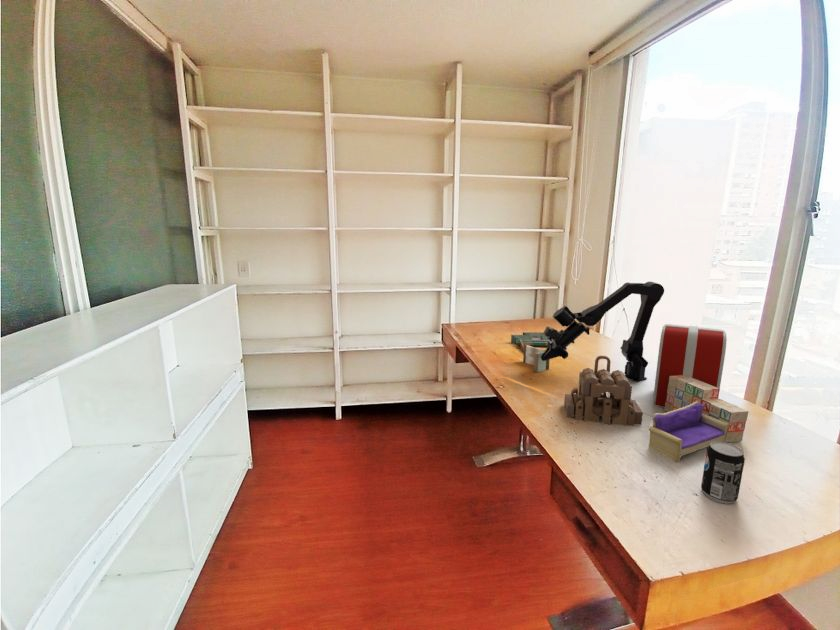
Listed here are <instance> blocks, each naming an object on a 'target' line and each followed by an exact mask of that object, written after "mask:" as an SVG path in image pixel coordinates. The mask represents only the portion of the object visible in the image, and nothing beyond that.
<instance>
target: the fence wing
mask: <svg viewBox="0 0 840 630" xmlns="http://www.w3.org/2000/svg"><path fill="white" fill-rule="evenodd" d="M543 353H544V352H541V353H534V365H533V371H532V372H533V373H535V374H536V373H539V372H545V371H547V370H546V360H545V361H543V360H542V359H541V356H542V355H543Z"/></svg>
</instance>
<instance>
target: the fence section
mask: <svg viewBox="0 0 840 630" xmlns="http://www.w3.org/2000/svg"><path fill="white" fill-rule="evenodd" d="M545 350H546V349H543V348H539V347H534V346H533V345H529V346H528V345H524V352H523V356H522V357H523V358H522V362H523V363H525V364H528V365H532V366H534V353H541V352H545ZM550 360H551V359H548V360H546V370H545V371H549V370H550Z"/></svg>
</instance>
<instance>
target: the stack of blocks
mask: <svg viewBox="0 0 840 630" xmlns="http://www.w3.org/2000/svg"><path fill="white" fill-rule="evenodd" d="M720 390H721V388H720V389H719V388H717V387H714V386H712V385H709V384H707V383H704V382H701V381H699V380H696V379H694V378H692V377H687V376H682V375H678V376H677V375H676V376H670V377H669V384H668V390H667V398H666V403H665V407H664V411H665V412H666V413H667V412H670V411H673V410H676V409H679V408H682V407H685V406H688V405H690V404H692V403H694V402H699V403H701V404H702V405H703V412H702V414H705V415H707V416H710V417H712V418H715V419H717V420H720V421H722V422H725V423H727V424H729V427H728V429H727V432H726V438H725V442H726V443H733V442H742V441H743V438H744V432H745V429H746V423H747V420H748V415H749V413H750V412H749V411H748V409H745V408H743V407H740V406H737V405H735V404H734V403H733V404H732V403H731V402H728V401H727V400H724V399H721V398H719V397H720ZM718 396H719V397H718Z"/></svg>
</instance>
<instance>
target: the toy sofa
mask: <svg viewBox="0 0 840 630" xmlns="http://www.w3.org/2000/svg"><path fill="white" fill-rule="evenodd" d="M702 412H703V405H702V404H701V403H699V402H694V403H692V404H690V405H688V406H685V407H682V408H679V409H676V410H673V411H670V412H667V411H666V412H664V413H658V412H657V413H655V412H654V414H653V415H652V425H650V426H649V427H648V431H649V441H648V448H650V449H652V450H653V451H655V452H657V453H659V454H661V455H663V456H665V457H666V458H668V459H670V460H672V461H673V462H675V463H680V462H681V457H683V456H686V455H688V454H691V453H693V452H697V451H699V450H702V449H704V448H706V447H707V448H708V447H709V446H710V443H711V442H714V441H721V442H725V438H726V432H727V429H728V427H729V424H727V423H725V422H722V421H720V420H717V419H715V418H712V417H710V416H707V415H705V414H702Z"/></svg>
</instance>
